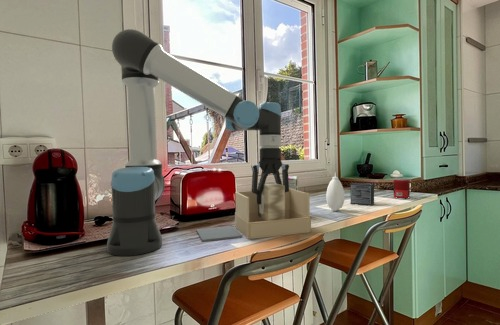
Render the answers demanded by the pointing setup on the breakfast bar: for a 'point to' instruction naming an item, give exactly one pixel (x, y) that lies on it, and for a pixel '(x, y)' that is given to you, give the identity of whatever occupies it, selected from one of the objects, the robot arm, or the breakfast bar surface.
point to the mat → (218, 233)
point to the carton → (259, 228)
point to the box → (273, 202)
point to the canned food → (401, 187)
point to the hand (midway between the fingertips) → (270, 212)
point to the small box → (362, 193)
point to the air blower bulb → (335, 194)
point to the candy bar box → (293, 182)
